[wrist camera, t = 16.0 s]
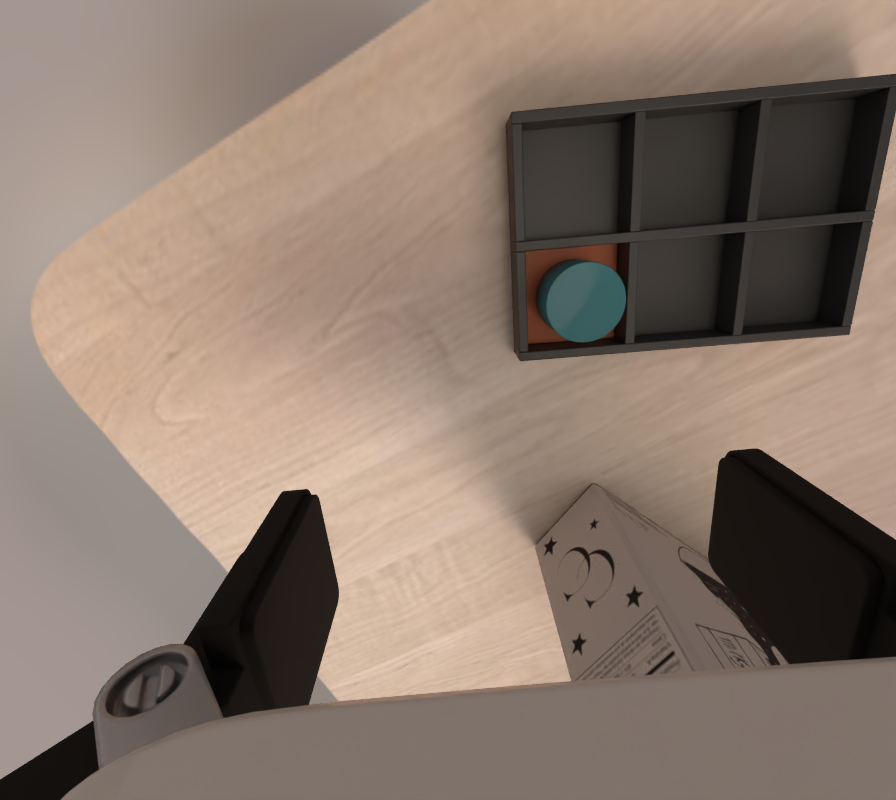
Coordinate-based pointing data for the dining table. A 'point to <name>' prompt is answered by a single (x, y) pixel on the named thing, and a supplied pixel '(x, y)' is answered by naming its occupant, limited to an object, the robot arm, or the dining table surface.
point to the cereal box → (640, 598)
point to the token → (581, 299)
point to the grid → (701, 211)
